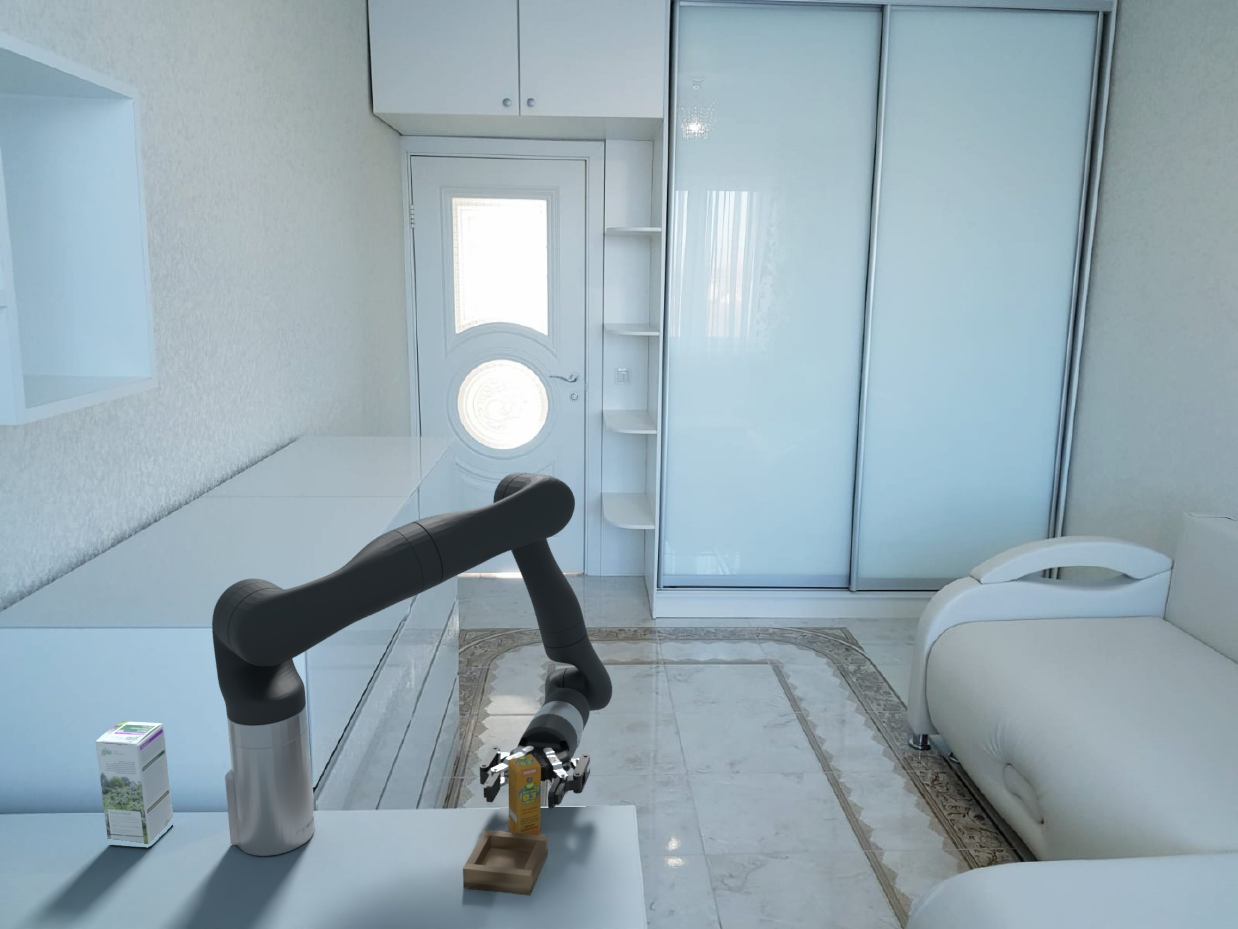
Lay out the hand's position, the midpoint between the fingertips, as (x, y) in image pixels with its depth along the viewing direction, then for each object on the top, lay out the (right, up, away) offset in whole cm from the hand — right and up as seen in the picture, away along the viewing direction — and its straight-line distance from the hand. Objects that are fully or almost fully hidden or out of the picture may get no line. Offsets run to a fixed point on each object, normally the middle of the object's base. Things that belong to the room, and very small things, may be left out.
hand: (519, 798), depth 117 cm
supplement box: (0, -6, +3) cm, 7 cm away
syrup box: (-48, -6, +3) cm, 49 cm away
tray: (-1, -7, -5) cm, 8 cm away
